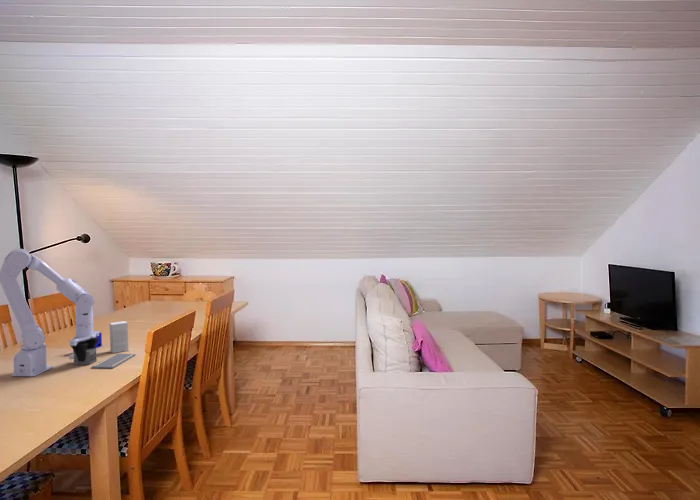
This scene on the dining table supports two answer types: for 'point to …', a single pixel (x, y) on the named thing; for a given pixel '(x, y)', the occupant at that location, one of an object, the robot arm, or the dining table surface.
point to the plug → (89, 357)
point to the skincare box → (119, 336)
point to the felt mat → (113, 361)
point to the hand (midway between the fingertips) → (85, 359)
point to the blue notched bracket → (98, 341)
